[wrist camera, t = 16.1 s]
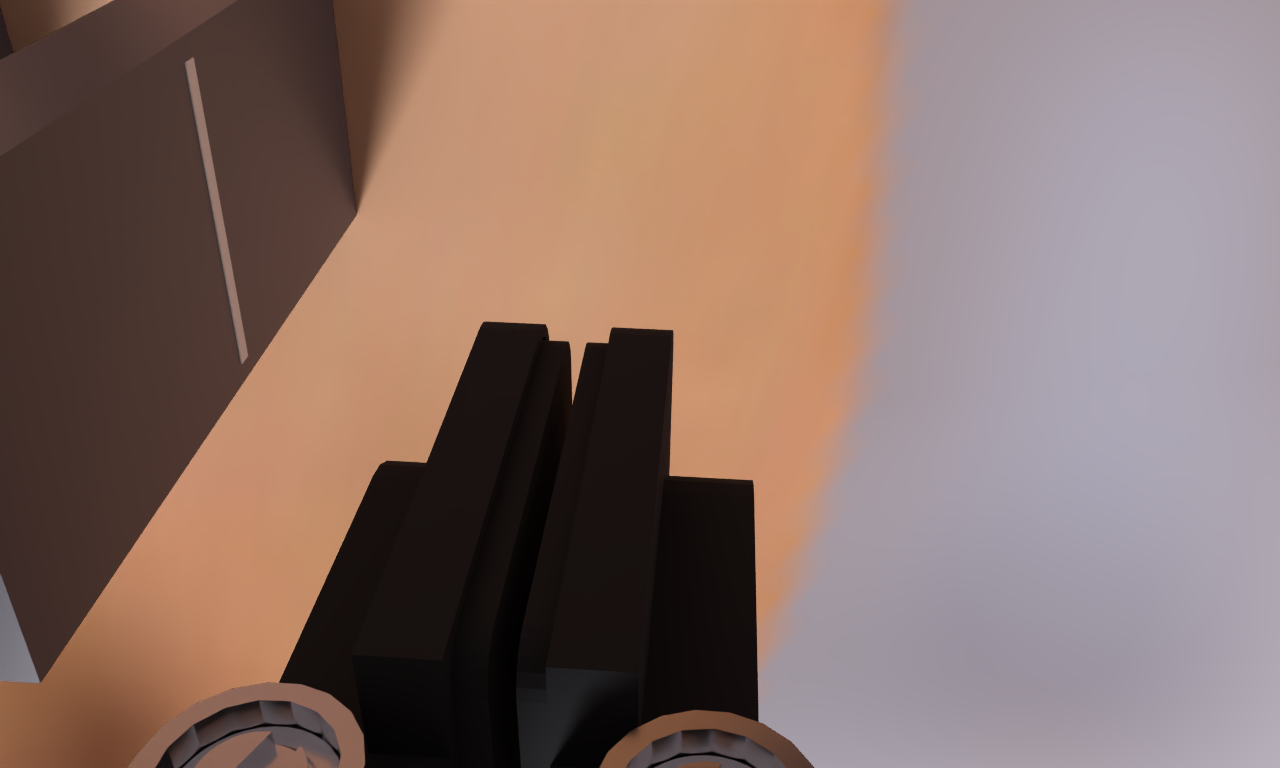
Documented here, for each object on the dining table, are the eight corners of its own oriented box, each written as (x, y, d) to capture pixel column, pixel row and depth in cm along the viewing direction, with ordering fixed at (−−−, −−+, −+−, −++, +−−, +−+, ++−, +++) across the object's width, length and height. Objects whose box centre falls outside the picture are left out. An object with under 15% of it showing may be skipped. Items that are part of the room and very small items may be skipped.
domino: (326, -58, 19) (-119, 236, 9) (357, 214, 22) (43, 683, 11) (231, -62, 19) (-322, 226, 9) (274, 210, 22) (-114, 673, 11)
